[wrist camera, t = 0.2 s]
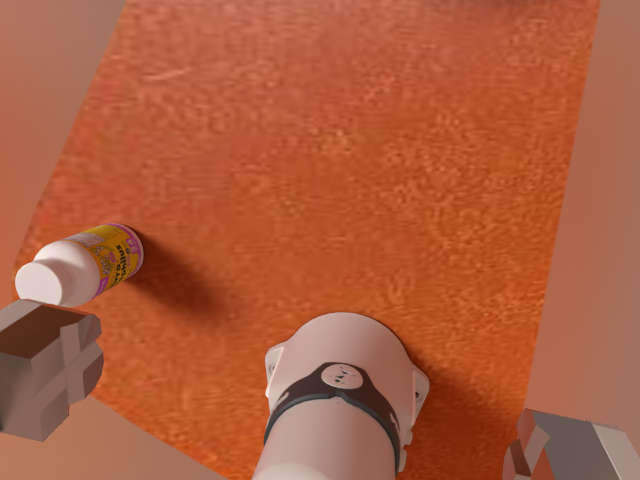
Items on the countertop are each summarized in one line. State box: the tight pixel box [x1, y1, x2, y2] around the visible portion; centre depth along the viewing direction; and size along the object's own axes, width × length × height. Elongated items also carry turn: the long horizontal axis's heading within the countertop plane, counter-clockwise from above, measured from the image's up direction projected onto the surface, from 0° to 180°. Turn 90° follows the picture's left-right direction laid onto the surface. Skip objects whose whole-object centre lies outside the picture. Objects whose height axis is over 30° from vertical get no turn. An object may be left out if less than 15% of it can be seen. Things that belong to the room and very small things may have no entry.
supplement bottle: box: [15, 223, 144, 307], centre depth 47 cm, size 7×7×13 cm
